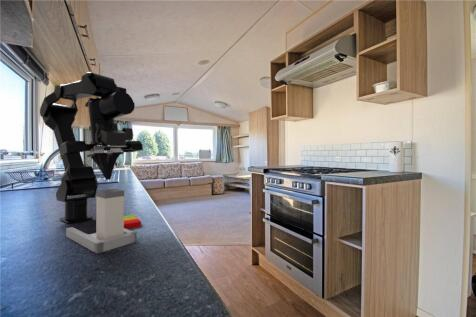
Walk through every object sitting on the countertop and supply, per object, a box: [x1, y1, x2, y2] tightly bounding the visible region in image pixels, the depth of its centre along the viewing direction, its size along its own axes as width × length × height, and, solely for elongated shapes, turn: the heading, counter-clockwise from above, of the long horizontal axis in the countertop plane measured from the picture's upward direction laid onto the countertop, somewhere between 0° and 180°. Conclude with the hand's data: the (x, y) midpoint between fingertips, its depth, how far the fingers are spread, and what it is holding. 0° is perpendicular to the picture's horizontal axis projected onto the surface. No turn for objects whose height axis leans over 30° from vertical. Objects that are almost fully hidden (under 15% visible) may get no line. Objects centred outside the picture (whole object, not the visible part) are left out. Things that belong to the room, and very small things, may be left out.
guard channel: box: [65, 226, 137, 255], centre depth 55 cm, size 16×8×2 cm, turn 55°
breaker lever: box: [95, 188, 125, 241], centre depth 52 cm, size 4×4×11 cm
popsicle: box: [124, 214, 142, 230], centre depth 69 cm, size 6×15×2 cm, turn 37°
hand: (108, 179), depth 62 cm, fingers closed
